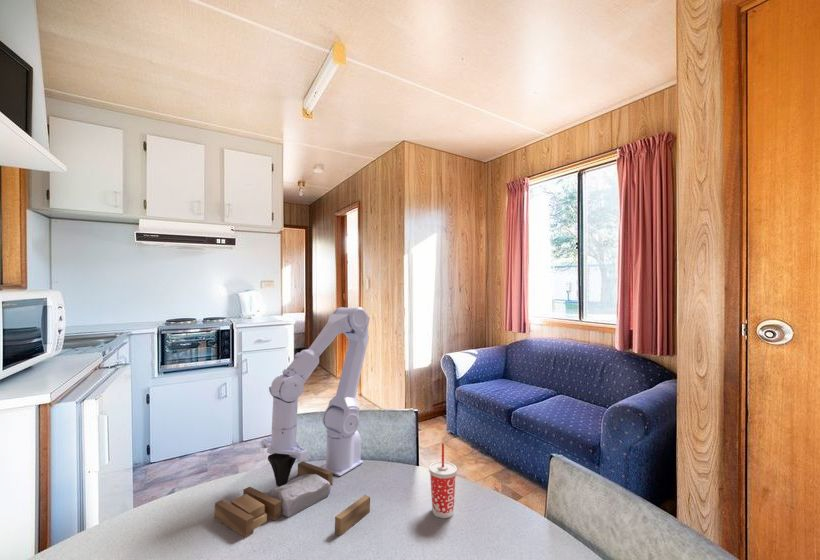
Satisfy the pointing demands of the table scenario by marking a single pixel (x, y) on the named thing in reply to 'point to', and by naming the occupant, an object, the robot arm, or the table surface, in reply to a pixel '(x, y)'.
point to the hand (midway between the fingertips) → (281, 484)
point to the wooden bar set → (245, 521)
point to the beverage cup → (442, 487)
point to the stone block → (301, 493)
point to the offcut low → (260, 521)
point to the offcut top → (249, 505)
